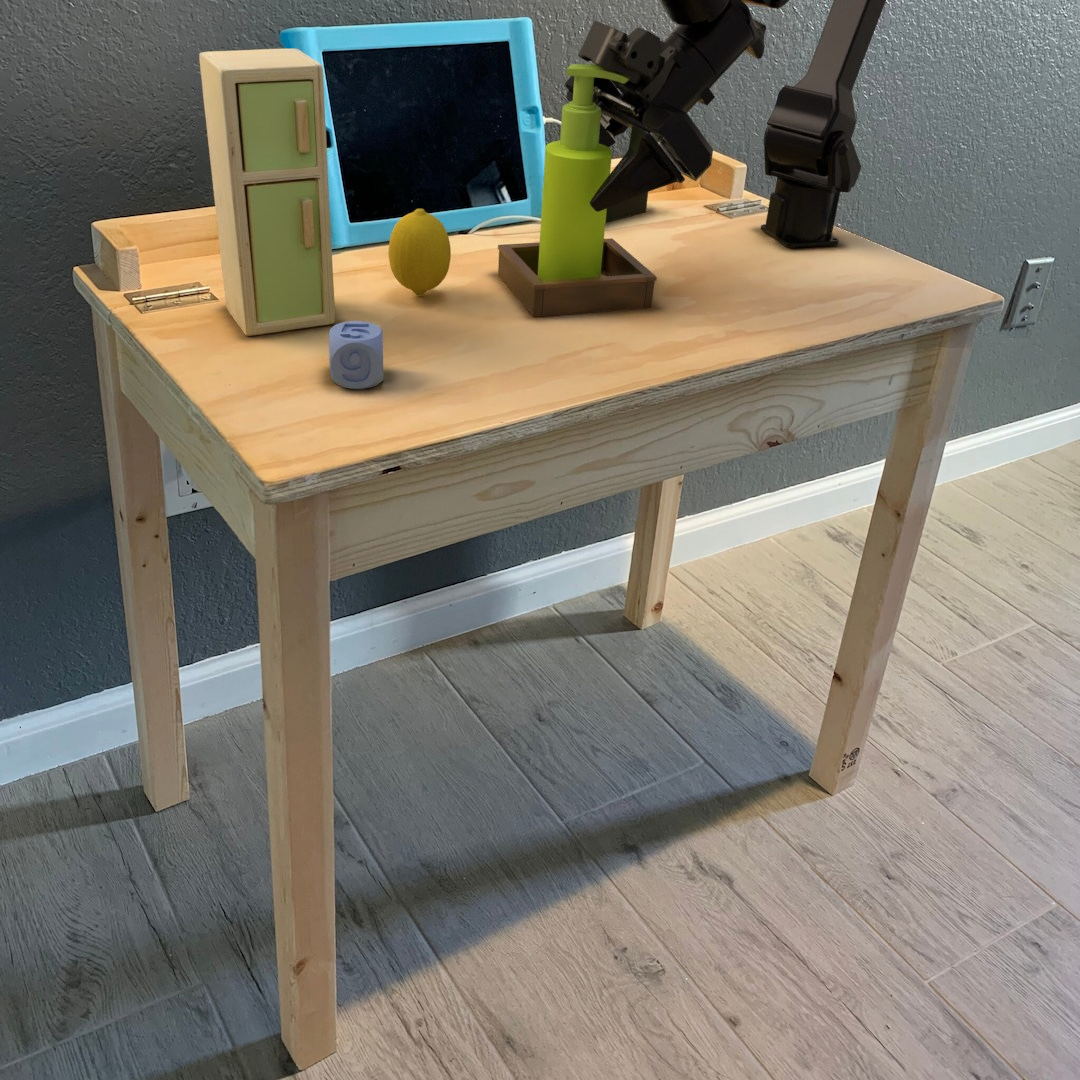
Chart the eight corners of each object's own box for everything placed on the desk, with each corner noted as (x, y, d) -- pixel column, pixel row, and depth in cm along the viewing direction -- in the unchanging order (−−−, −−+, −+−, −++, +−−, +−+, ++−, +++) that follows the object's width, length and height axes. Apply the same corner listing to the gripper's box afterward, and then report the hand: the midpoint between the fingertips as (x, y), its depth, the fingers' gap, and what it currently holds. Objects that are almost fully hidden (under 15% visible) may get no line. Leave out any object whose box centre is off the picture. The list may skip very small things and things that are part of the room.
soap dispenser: (603, 307, 104) (625, 78, 93) (530, 296, 105) (543, 68, 94) (614, 284, 109) (637, 64, 98) (544, 274, 110) (559, 55, 99)
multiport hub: (647, 211, 130) (650, 190, 128) (582, 229, 123) (584, 207, 121) (618, 201, 132) (620, 181, 131) (553, 218, 125) (554, 197, 124)
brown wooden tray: (609, 267, 113) (612, 238, 111) (653, 308, 105) (657, 276, 103) (496, 275, 110) (497, 244, 108) (532, 317, 101) (534, 285, 99)
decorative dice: (383, 367, 91) (382, 320, 88) (383, 389, 87) (382, 341, 85) (332, 367, 90) (330, 320, 88) (330, 389, 87) (328, 341, 84)
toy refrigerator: (246, 341, 93) (221, 69, 82) (223, 309, 99) (197, 50, 87) (339, 328, 96) (328, 66, 85) (312, 298, 102) (298, 47, 90)
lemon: (462, 297, 104) (464, 211, 100) (417, 312, 101) (417, 223, 96) (422, 280, 107) (422, 195, 103) (376, 293, 104) (374, 206, 99)
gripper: (593, -29, 101) (474, 104, 103) (701, 5, 87) (561, 158, 89) (659, 63, 109) (547, 186, 111) (768, 108, 95) (638, 248, 97)
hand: (570, 192), depth 102 cm, fingers open, 9 cm apart
